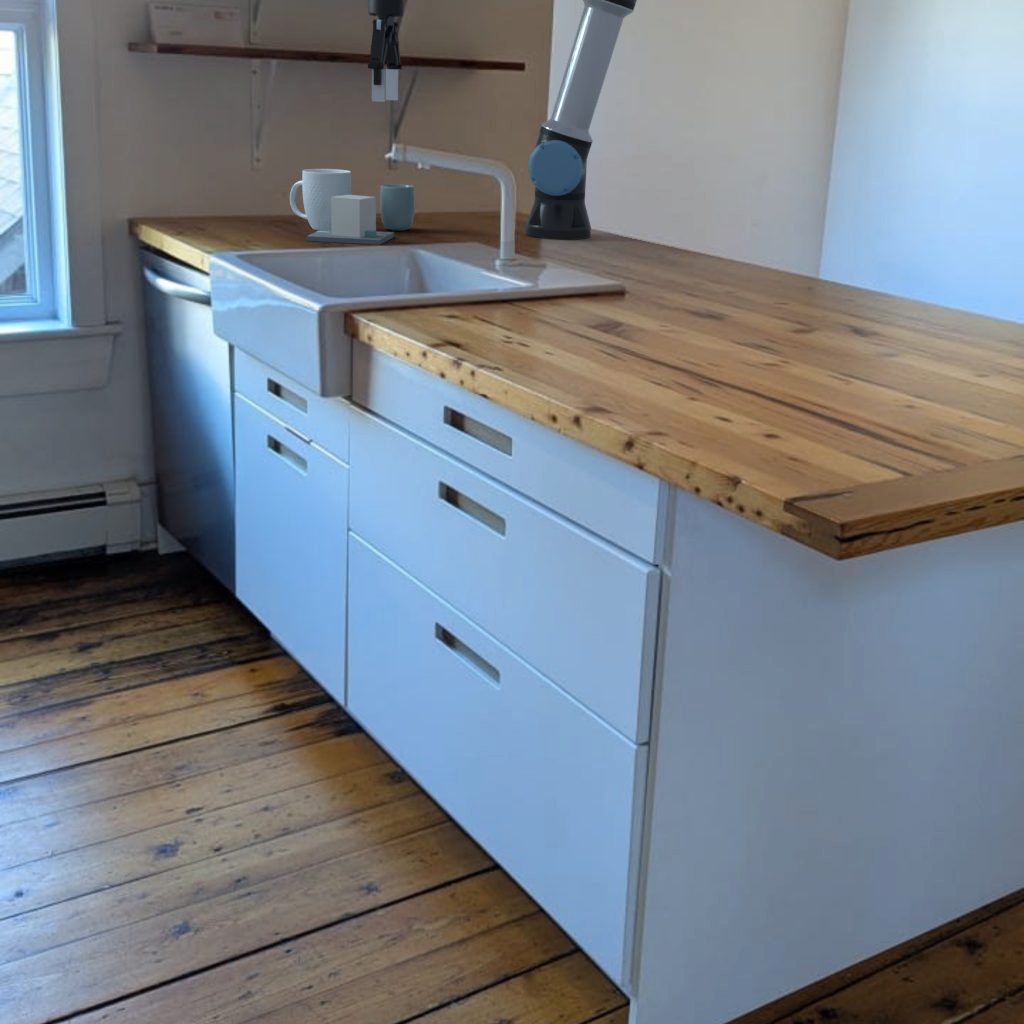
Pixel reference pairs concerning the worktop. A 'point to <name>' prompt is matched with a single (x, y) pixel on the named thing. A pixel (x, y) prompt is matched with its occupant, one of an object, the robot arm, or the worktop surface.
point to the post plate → (326, 236)
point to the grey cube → (353, 216)
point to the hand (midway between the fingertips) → (385, 101)
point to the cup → (397, 206)
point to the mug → (320, 194)
